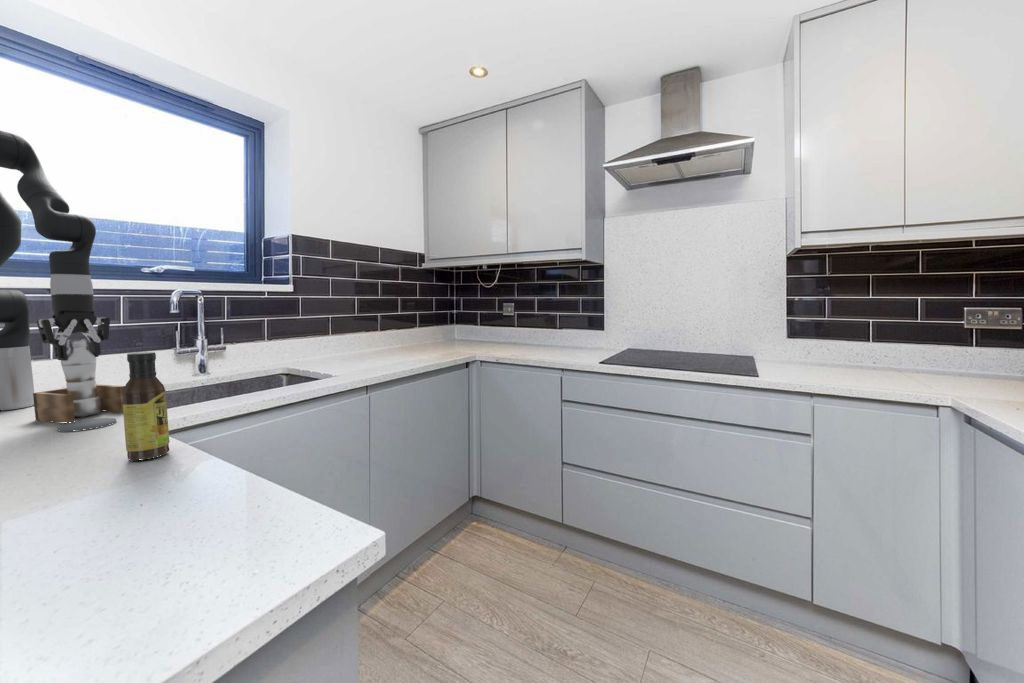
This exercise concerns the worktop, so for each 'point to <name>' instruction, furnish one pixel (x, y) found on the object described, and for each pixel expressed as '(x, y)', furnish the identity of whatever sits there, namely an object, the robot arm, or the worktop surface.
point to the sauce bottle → (144, 409)
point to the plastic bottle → (81, 378)
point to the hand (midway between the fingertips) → (78, 358)
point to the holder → (61, 404)
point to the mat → (86, 424)
